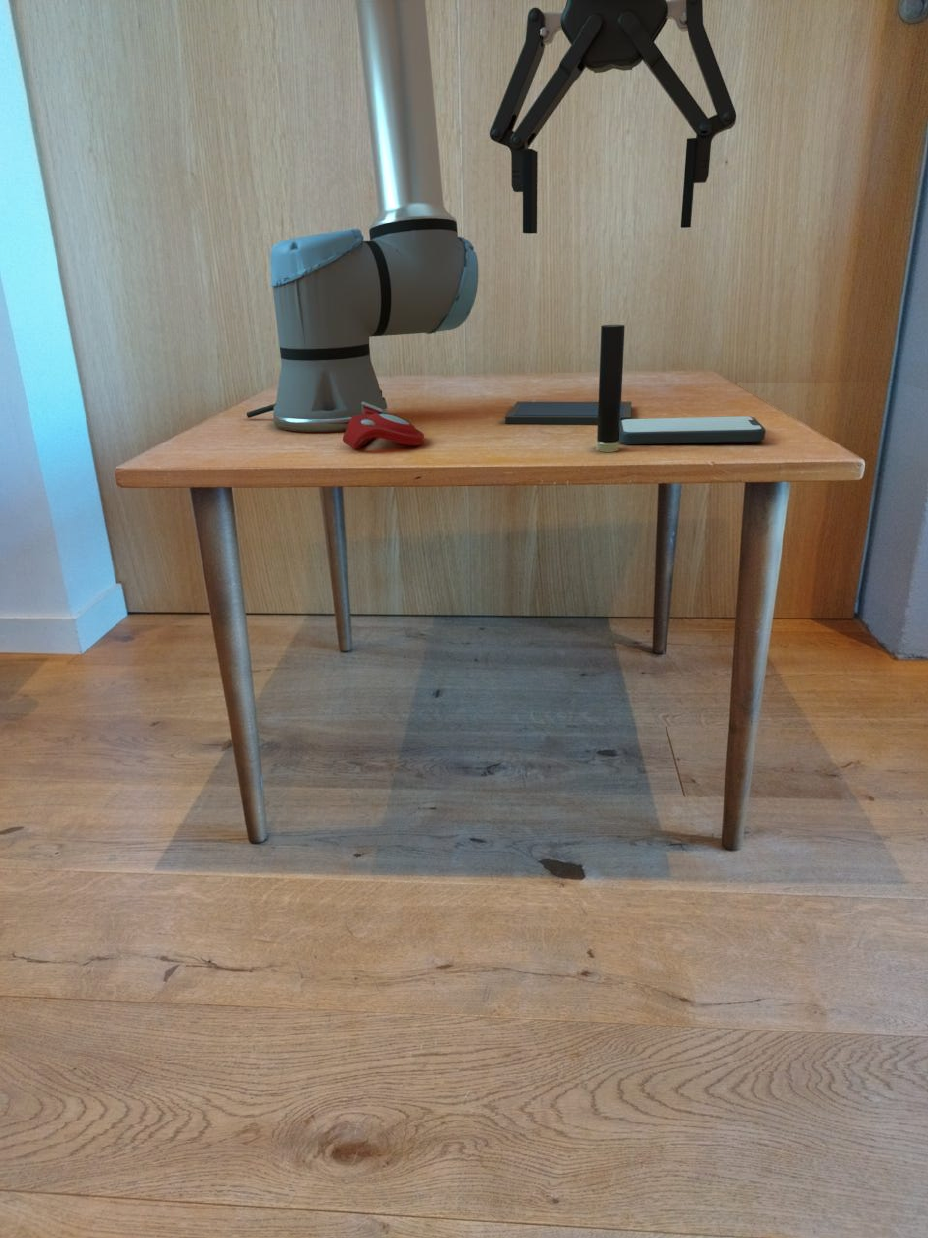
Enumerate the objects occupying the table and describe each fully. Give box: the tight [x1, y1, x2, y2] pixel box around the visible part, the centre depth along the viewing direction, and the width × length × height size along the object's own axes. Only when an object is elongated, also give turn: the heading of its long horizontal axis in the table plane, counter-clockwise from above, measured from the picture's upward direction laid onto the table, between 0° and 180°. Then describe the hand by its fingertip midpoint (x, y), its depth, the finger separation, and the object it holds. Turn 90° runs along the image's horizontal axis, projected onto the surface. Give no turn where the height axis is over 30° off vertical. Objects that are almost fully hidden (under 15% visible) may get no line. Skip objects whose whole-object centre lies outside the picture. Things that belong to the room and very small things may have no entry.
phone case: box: [619, 415, 767, 445], centre depth 95 cm, size 9×2×16 cm
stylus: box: [596, 324, 626, 453], centre depth 88 cm, size 2×2×13 cm
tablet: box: [504, 400, 632, 425], centre depth 110 cm, size 16×12×1 cm
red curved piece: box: [342, 402, 425, 450], centre depth 97 cm, size 12×4×10 cm
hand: (605, 230), depth 72 cm, fingers open, 13 cm apart
